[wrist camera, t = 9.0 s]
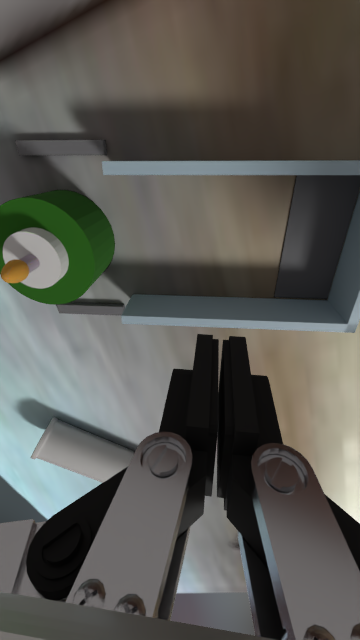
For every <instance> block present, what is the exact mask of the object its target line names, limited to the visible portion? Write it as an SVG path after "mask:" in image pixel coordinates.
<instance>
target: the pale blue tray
mask: <svg viewBox="0 0 360 640" xmlns="http://www.w3.org/2000/svg"><path fill="white" fill-rule="evenodd" d="M102 167H103V175H297V176H296V182H295V187H294V192H293V198H292V203H291V209H290V214H289V219H288V225H287V230H286V235H285V241H284V246H283V252H282V257H281V262H280V268H279V273H278V279H277V284H276V289H275V295H274V297H284V298H316V299H327V298H328V300H303V299H271V298H239V297H207V296H175V295H143V294H133V295H132V297H131V298H130V300H129V302H128V304H127V306H126V308H125V310H124V311H123V313H122V315H121V318H122V324H146V325H172V326H197V327H223V328H249V329H275V330H300V331H326V332H352V333H355V331H356V328H357V325H358V323H359V320H360V191H359V189H360V160H230V161H102ZM358 192H359V194H358ZM357 196H358V198H357ZM356 199H357V201H356ZM355 202H356V205H355ZM354 206H355V208H354ZM353 209H354V211H353ZM352 213H353V215H352ZM351 216H352V218H351ZM350 219H351V222H350ZM349 223H350V225H349ZM348 226H349V228H348ZM347 230H348V232H347ZM346 233H347V235H346ZM345 236H346V239H345ZM344 240H345V242H344ZM343 243H344V245H343ZM342 247H343V249H342ZM341 250H342V252H341ZM340 254H341V256H340ZM339 257H340V259H339ZM338 260H339V262H338ZM337 264H338V266H337ZM336 267H337V269H336ZM335 271H336V273H335ZM334 274H335V276H334ZM333 277H334V279H333ZM332 281H333V283H332ZM331 284H332V286H331ZM330 288H331V289H330ZM329 291H330V293H329ZM328 294H329V296H328Z"/></svg>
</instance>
